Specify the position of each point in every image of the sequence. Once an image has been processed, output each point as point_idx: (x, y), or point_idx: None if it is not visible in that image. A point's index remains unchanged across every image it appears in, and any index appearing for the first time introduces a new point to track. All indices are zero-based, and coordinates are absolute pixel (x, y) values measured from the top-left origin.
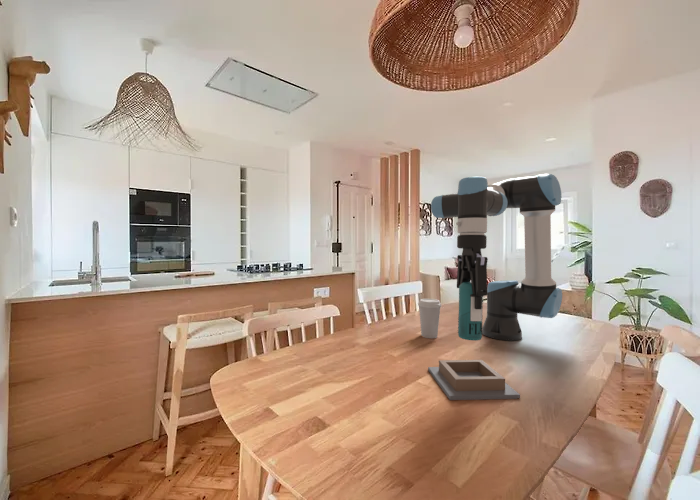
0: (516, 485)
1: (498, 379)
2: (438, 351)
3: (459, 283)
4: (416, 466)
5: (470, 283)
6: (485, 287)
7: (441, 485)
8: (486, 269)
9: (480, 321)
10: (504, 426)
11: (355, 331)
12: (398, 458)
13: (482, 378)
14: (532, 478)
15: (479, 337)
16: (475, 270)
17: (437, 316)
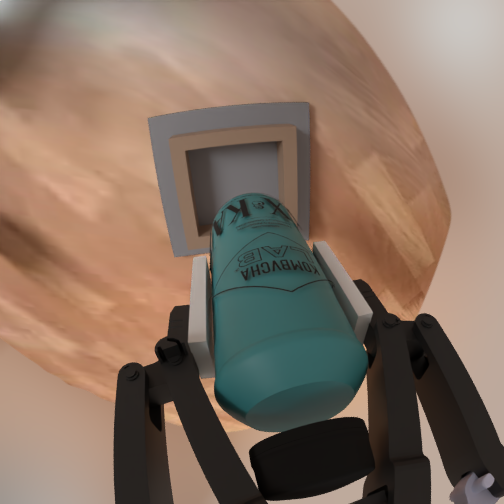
0: (446, 216)
1: (296, 142)
2: (55, 214)
3: (161, 416)
4: (409, 288)
5: (324, 411)
6: (447, 349)
7: (429, 273)
8: (493, 427)
9: (301, 235)
10: (382, 180)
11: (26, 349)
12: (397, 301)
13: (294, 179)
14: (445, 198)
15: (291, 213)
16: (441, 456)
17: None
